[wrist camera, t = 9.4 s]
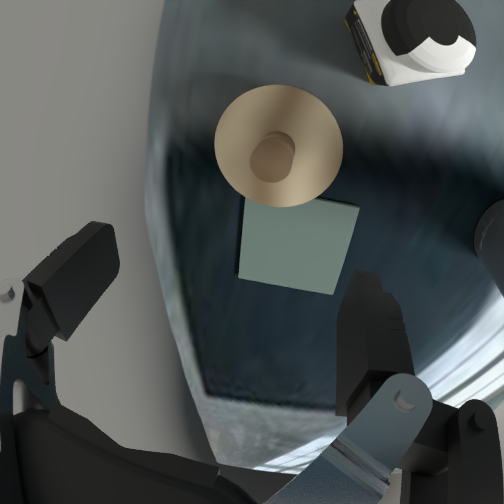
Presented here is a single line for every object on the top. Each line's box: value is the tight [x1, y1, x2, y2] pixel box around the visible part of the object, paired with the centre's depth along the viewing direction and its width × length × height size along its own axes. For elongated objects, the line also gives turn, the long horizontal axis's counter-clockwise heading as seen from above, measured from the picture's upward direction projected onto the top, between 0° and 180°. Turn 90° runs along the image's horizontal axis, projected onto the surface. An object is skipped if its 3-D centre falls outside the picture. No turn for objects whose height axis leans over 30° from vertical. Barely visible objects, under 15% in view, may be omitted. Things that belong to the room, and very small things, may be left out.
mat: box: [238, 197, 360, 295], centre depth 34 cm, size 12×12×1 cm
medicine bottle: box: [344, 0, 476, 86], centre depth 15 cm, size 7×7×12 cm
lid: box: [215, 85, 343, 207], centre depth 21 cm, size 10×10×6 cm
